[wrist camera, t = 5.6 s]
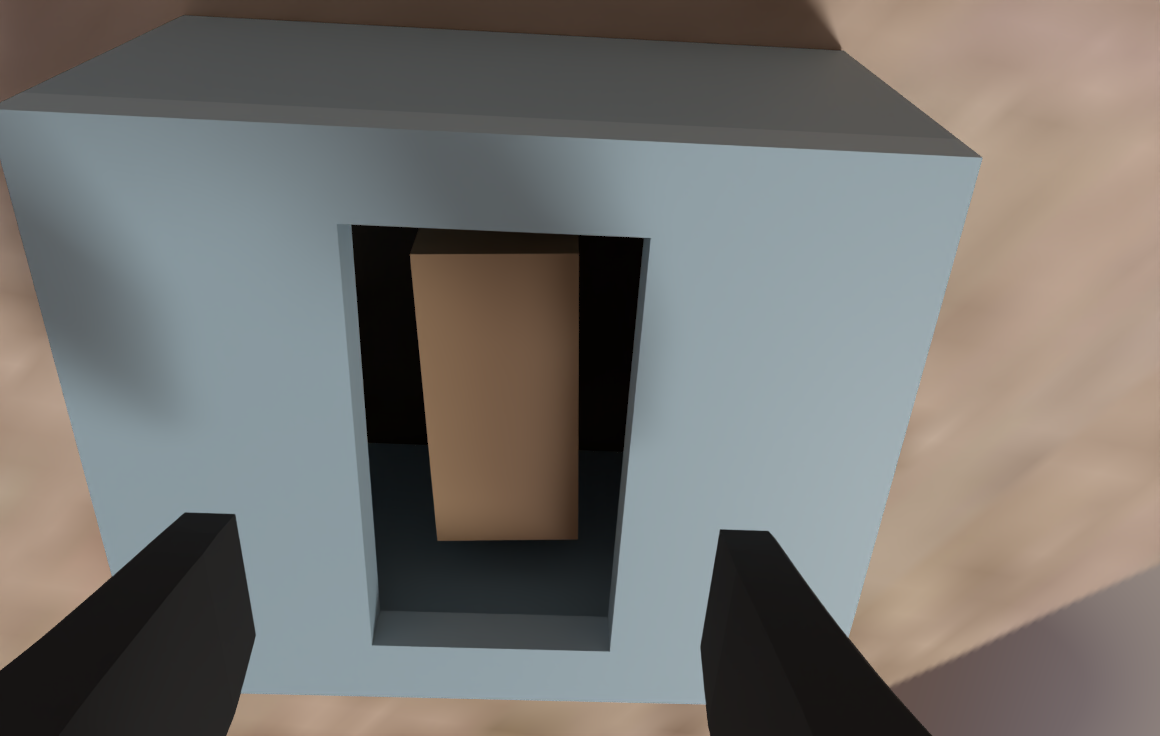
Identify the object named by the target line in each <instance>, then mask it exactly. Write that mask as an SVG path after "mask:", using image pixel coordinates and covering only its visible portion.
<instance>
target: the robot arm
mask: <svg viewBox="0 0 1160 736" xmlns="http://www.w3.org/2000/svg"><path fill="white" fill-rule="evenodd" d="M255 637H256V632H255V626H254V620H253V614H252V609H251V603H250V597H249V591H248V585H247V579H246V573H245V568H244V562H243V556H242V550H241V544H240V538H239V533H238V527H237V521H236V515H235V514H221V513H190V512H185V513H184V514H182V515H181V516H180V517H179V518H178V519H177V520H175V521H174V522H173V523H172V524H171V525H170V526H169V527H167V528H166V529H165V530H164V531H163V532H162V533H160V534H159V535H158V536H157V537H156V538H155V539H154V540H153V541H151V542H150V543H149V544H148V545H147V546H146V547H145V548H144V549H142V550H141V551H140V552H139V553H138V554H137V555H136V556H135V557H134V558H132V559H131V560H130V561H129V562H128V563H127V564H126V565H125V566H124V567H122V568H121V569H120V570H119V571H118V572H117V573H116V574H115V575H113V576H112V577H111V578H110V579H109V580H108V581H107V582H106V583H104V584H103V585H102V586H101V587H100V588H99V589H98V590H97V591H95V592H94V593H93V594H92V595H91V596H90V597H88V598H87V599H86V600H85V601H84V602H83V603H81V604H80V605H79V606H78V607H77V608H76V609H75V610H73V611H72V612H71V613H70V614H69V615H68V616H66V617H65V618H64V619H63V620H62V621H61V622H59V623H58V624H57V625H56V626H55V627H54V628H52V629H51V630H50V631H49V632H48V633H47V634H45V635H44V636H43V637H42V638H41V639H39V640H38V641H37V642H36V643H34V644H33V645H32V646H31V647H29V648H28V649H27V650H26V651H24V652H23V653H22V654H21V655H19V656H18V657H17V658H16V659H14V660H13V661H12V662H11V663H9V664H8V665H7V666H6V667H4V668H3V669H2V670H1V671H0V736H226V735H227V732H228V730H229V727H230V725H231V722H232V720H233V717H234V714H235V711H236V708H237V704H238V701H239V697H240V694H241V690H242V687H243V683H244V680H245V676H246V672H247V668H248V664H249V660H250V656H251V653H252V649H253V645H254V641H255ZM700 650H701V661H702V672H703V682H704V692H705V701H706V711H707V720H708V727H709V731H710V736H932V735H931V734H930V733H929V732H928V731H927V730H926V728H925V727H924V726H923V725H922V724H921V723H920V722H919V721H918V720H917V719H916V717H915V716H914V715H913V714H912V713H911V712H910V711H909V710H908V709H907V707H906V706H905V705H904V704H903V703H902V702H901V701H900V699H899V698H898V697H897V696H896V695H895V694H894V693H893V692H892V691H891V689H890V688H889V687H888V686H887V684H886V683H885V682H884V681H883V680H882V679H881V677H880V676H879V675H878V674H877V673H876V672H875V670H874V669H873V668H872V667H871V665H870V664H869V663H868V662H867V660H866V659H865V658H864V657H863V655H862V654H861V653H860V652H859V650H858V649H857V648H856V647H855V645H854V644H853V643H852V642H851V640H850V639H849V638H848V637H847V636H846V634H845V633H844V632H843V631H842V629H841V628H840V627H839V625H838V624H837V623H836V621H835V620H834V619H833V618H832V616H831V615H830V614H829V612H828V611H827V610H826V608H825V607H824V606H823V604H822V603H821V602H820V600H819V599H818V597H817V596H816V595H815V593H814V592H813V591H812V589H811V588H810V587H809V585H808V584H807V582H806V581H805V580H804V578H803V577H802V576H801V574H800V573H799V571H798V570H797V569H796V567H795V566H794V564H793V563H792V561H791V560H790V559H789V557H788V556H787V554H786V553H785V551H784V550H783V549H782V547H781V546H780V544H779V543H778V541H777V540H776V539H775V538H774V536H773V535H772V534H771V533H770V532H769V531H758V530H726V529H720V532H719V538H718V544H717V550H716V555H715V561H714V567H713V573H712V579H711V585H710V591H709V597H708V603H707V609H706V615H705V621H704V627H703V633H702V639H701V645H700Z"/></svg>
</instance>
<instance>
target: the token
mask: <svg viewBox="0 0 1160 736" xmlns="http://www.w3.org/2000/svg"><path fill="white" fill-rule="evenodd" d="M410 261H411V272H412V282H413V292H414V303H415V313H416V323H417V334H418V344H419V354H420V365H421V375H422V386H423V396H424V406H425V417H426V427H427V437H428V448H429V458H430V468H431V479H432V489H433V499H434V510H435V520H436V531H437V541H477V540H567V539H578V403H579V244H578V235H573V234H551V233H529V232H506V231H484V230H462V229H439V228H419V230H418V233H417V235H416V238H415V241H414V244H413V247H412V250H411V253H410Z"/></svg>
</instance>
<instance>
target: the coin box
mask: <svg viewBox="0 0 1160 736" xmlns="http://www.w3.org/2000/svg"><path fill="white" fill-rule="evenodd" d="M0 160H1V164H2V168H3V171H4V175H5V179H6V183H7V186H8V190H9V194H10V197H11V201H12V205H13V209H14V212H15V216H16V220H17V224H18V227H19V231H20V235H21V239H22V242H23V246H24V250H25V253H26V257H27V261H28V265H29V268H30V272H31V276H32V280H33V283H34V287H35V291H36V294H37V298H38V302H39V306H40V309H41V313H42V317H43V321H44V324H45V328H46V332H47V335H48V339H49V343H50V347H51V350H52V354H53V358H54V362H55V365H56V369H57V373H58V376H59V380H60V384H61V388H62V391H63V395H64V399H65V403H66V406H67V410H68V414H69V417H70V421H71V425H72V429H73V432H74V436H75V440H76V444H77V447H78V451H79V455H80V459H81V462H82V466H83V470H84V473H85V477H86V481H87V485H88V488H89V492H90V496H91V500H92V503H93V507H94V511H95V514H96V518H97V522H98V526H99V529H100V533H101V537H102V541H103V544H104V548H105V552H106V555H107V559H108V563H109V567H110V570H111V574H112V576H113V575H115V574H116V573H117V572H118V571H119V570H120V569H121V568H122V567H124V566H125V565H126V564H127V563H128V562H129V561H130V560H131V559H132V558H134V557H135V556H136V555H137V554H138V553H139V552H140V551H141V550H142V549H144V548H145V547H146V546H147V545H148V544H149V543H150V542H151V541H153V540H154V539H155V538H156V537H157V536H158V535H159V534H160V533H162V532H163V531H164V530H165V529H166V528H167V527H169V526H170V525H171V524H172V523H173V522H174V521H175V520H177V519H178V518H179V517H180V516H181V515H182V514H184V513H185V512H190V513H221V514H235V515H236V521H237V527H238V533H239V538H240V544H241V550H242V556H243V562H244V568H245V573H246V579H247V585H248V591H249V597H250V603H251V609H252V614H253V620H254V626H255V632H256V637H255V641H254V645H253V649H252V653H251V656H250V660H249V664H248V668H247V672H246V676H245V680H244V683H243V687H242V690H241V693H248V694H291V695H333V696H375V697H417V698H459V699H501V700H543V701H585V702H627V703H669V704H706V701H705V692H704V682H703V672H702V661H701V650H700V645H701V639H702V633H703V627H704V621H705V615H706V609H707V603H708V597H709V591H710V585H711V579H712V573H713V567H714V561H715V555H716V550H717V544H718V538H719V532H720V529H726V530H758V531H769V532H770V533H771V534H772V535H773V536H774V538H775V539H776V540H777V541H778V543H779V544H780V546H781V547H782V549H783V550H784V551H785V553H786V554H787V556H788V557H789V559H790V560H791V561H792V563H793V564H794V566H795V567H796V569H797V570H798V571H799V573H800V574H801V576H802V577H803V578H804V580H805V581H806V582H807V584H808V585H809V587H810V588H811V589H812V591H813V592H814V593H815V595H816V596H817V597H818V599H819V600H820V602H821V603H822V604H823V606H824V607H825V608H826V610H827V611H828V612H829V614H830V615H831V616H832V618H833V619H834V620H835V621H836V623H837V624H838V625H839V627H840V628H841V629H842V631H843V632H844V633H845V634H846V636H847V637H849V634H850V630H851V626H852V623H853V619H854V616H855V612H856V609H857V605H858V601H859V598H860V594H861V591H862V587H863V584H864V580H865V576H866V573H867V569H868V566H869V562H870V559H871V555H872V551H873V548H874V544H875V541H876V537H877V534H878V530H879V526H880V523H881V519H882V516H883V512H884V508H885V505H886V501H887V498H888V494H889V491H890V487H891V483H892V480H893V476H894V473H895V469H896V466H897V462H898V458H899V455H900V451H901V448H902V444H903V441H904V437H905V433H906V430H907V426H908V423H909V419H910V416H911V412H912V408H913V405H914V401H915V398H916V394H917V390H918V387H919V383H920V380H921V376H922V373H923V369H924V365H925V362H926V358H927V355H928V351H929V348H930V344H931V340H932V337H933V333H934V330H935V326H936V323H937V319H938V315H939V312H940V308H941V305H942V301H943V298H944V294H945V290H946V287H947V283H948V280H949V276H950V272H951V269H952V265H953V262H954V258H955V255H956V251H957V247H958V244H959V240H960V237H961V233H962V230H963V226H964V222H965V219H966V215H967V212H968V208H969V205H970V201H971V197H972V194H973V190H974V187H975V183H976V180H977V176H978V172H979V169H980V165H981V162H982V157H981V156H980V155H978V154H977V153H976V152H974V151H973V150H972V149H971V148H969V147H968V146H967V145H965V144H964V143H963V142H961V141H960V140H959V139H958V138H956V137H955V136H954V135H952V134H951V133H950V132H949V131H947V130H946V129H945V128H943V127H942V126H941V125H939V124H938V123H937V122H936V121H934V120H933V119H932V118H930V117H929V116H928V115H926V114H925V113H924V112H923V111H921V110H920V109H919V108H917V107H916V106H915V105H913V104H912V103H911V102H910V101H908V100H907V99H906V98H904V97H903V96H902V95H900V94H899V93H898V92H897V91H895V90H894V89H893V88H891V87H890V86H889V85H888V84H886V83H885V82H884V81H882V80H881V79H880V78H878V77H877V76H876V75H875V74H873V73H872V72H871V71H869V70H868V69H867V68H865V67H864V66H863V65H862V64H860V63H859V62H858V61H856V60H855V59H854V58H852V57H851V56H850V55H849V54H847V53H846V52H845V51H841V50H823V49H804V48H785V47H767V46H748V45H729V44H711V43H692V42H673V41H655V40H636V39H617V38H599V37H580V36H561V35H543V34H524V33H505V32H487V31H468V30H449V29H431V28H412V27H393V26H375V25H356V24H337V23H319V22H300V21H281V20H263V19H244V18H225V17H206V16H188V15H183V16H181V17H179V18H177V19H174V20H172V21H170V22H168V23H166V24H164V25H162V26H160V27H158V28H156V29H153V30H151V31H149V32H147V33H145V34H143V35H141V36H139V37H137V38H135V39H132V40H130V41H128V42H126V43H124V44H122V45H120V46H118V47H116V48H114V49H111V50H109V51H107V52H105V53H103V54H101V55H99V56H97V57H95V58H93V59H91V60H88V61H86V62H84V63H82V64H80V65H78V66H76V67H74V68H72V69H70V70H67V71H65V72H63V73H61V74H59V75H57V76H55V77H53V78H51V79H49V80H46V81H44V82H42V83H40V84H38V85H36V86H34V87H32V88H30V89H28V90H25V91H23V92H21V93H19V94H17V95H15V96H13V97H11V98H9V99H7V100H4V101H2V102H0ZM351 225H372V226H394V227H417V228H439V229H462V230H484V231H506V232H529V233H551V234H573V235H596V236H618V237H641V238H644V242H643V253H642V263H641V274H640V284H639V295H638V305H637V316H636V326H635V337H634V347H633V358H632V368H631V379H630V389H629V400H628V410H627V421H626V431H625V442H624V452H616V451H587V450H578V539H567V540H477V541H437V531H436V520H435V510H434V499H433V489H432V479H431V468H430V458H429V448H428V445H416V444H387V443H368V442H367V429H366V415H365V402H364V389H363V375H362V362H361V349H360V335H359V322H358V309H357V296H356V282H355V269H354V256H353V242H352V229H351Z"/></svg>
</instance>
